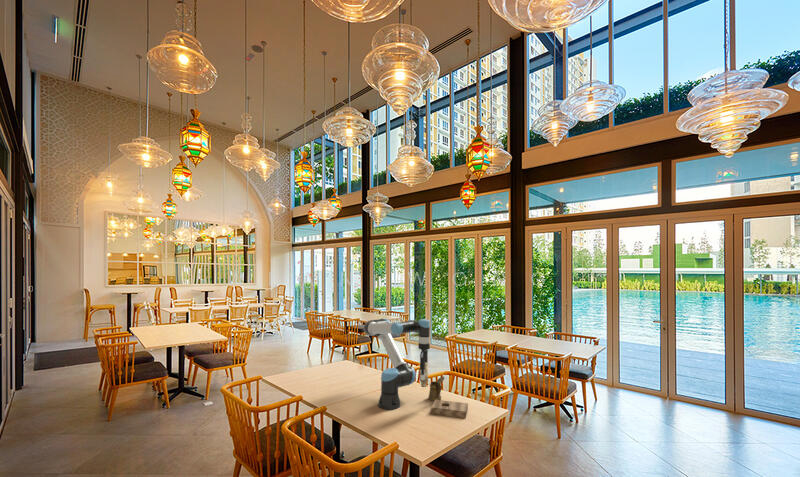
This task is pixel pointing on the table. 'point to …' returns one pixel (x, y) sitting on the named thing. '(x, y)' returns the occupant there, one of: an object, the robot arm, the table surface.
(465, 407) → the board
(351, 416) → the table surface
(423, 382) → the dowel
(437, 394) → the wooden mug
